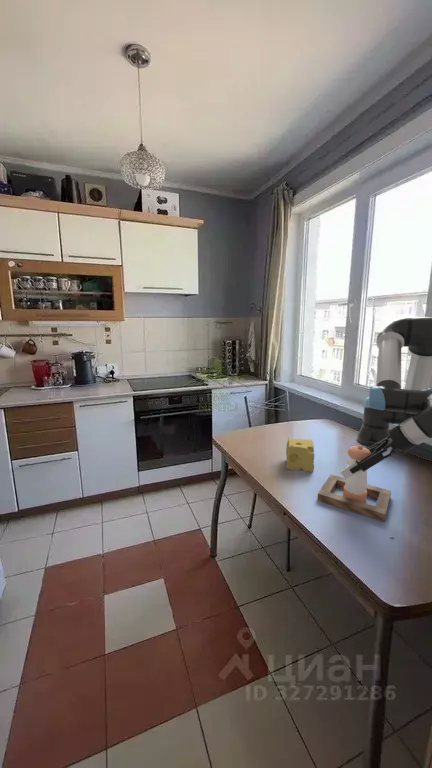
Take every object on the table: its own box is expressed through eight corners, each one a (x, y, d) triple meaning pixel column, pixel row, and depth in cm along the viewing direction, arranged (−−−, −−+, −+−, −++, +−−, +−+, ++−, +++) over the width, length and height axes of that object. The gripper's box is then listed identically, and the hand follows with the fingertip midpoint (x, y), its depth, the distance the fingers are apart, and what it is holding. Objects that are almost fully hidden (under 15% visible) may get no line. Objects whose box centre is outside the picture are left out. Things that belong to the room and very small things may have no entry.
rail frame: (390, 497, 107) (391, 490, 107) (384, 521, 94) (385, 514, 94) (330, 480, 118) (330, 474, 118) (317, 500, 105) (317, 493, 105)
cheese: (313, 472, 124) (315, 448, 122) (285, 469, 126) (287, 446, 124) (311, 461, 134) (313, 439, 132) (285, 458, 136) (286, 436, 134)
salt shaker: (364, 507, 102) (371, 452, 98) (340, 500, 105) (346, 446, 101) (367, 497, 108) (373, 444, 104) (344, 490, 111) (350, 439, 107)
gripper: (415, 457, 85) (347, 493, 97) (418, 434, 102) (359, 467, 114) (395, 434, 87) (330, 472, 99) (401, 416, 104) (345, 450, 116)
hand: (346, 469), depth 106 cm, fingers open, 8 cm apart
